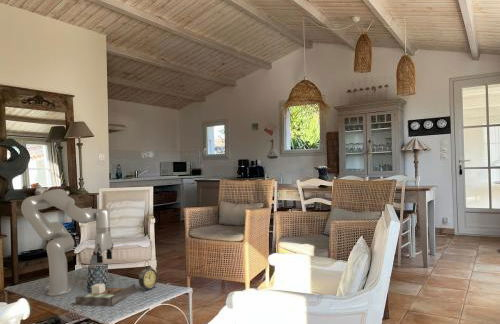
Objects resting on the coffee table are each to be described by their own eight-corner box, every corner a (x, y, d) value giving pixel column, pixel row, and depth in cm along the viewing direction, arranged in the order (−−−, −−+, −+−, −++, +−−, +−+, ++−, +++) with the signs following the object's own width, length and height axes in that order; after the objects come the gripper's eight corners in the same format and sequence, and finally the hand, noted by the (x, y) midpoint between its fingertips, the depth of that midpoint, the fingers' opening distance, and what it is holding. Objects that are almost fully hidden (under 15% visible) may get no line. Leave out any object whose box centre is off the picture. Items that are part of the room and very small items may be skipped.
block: (91, 293, 213) (91, 286, 213) (97, 290, 218) (97, 283, 218) (99, 293, 212) (99, 286, 212) (105, 290, 217) (104, 283, 217)
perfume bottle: (103, 276, 254) (102, 249, 255) (101, 279, 248) (100, 251, 248) (93, 278, 253) (91, 250, 254) (90, 280, 247) (89, 252, 247)
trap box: (75, 304, 202) (75, 295, 202) (101, 291, 223) (101, 283, 223) (112, 306, 196) (111, 297, 196) (135, 292, 218) (135, 284, 218)
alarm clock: (144, 293, 215) (142, 264, 215) (137, 291, 218) (136, 263, 218) (158, 287, 224) (157, 259, 225) (151, 286, 227) (150, 258, 227)
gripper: (106, 228, 231) (108, 257, 231) (87, 233, 214) (89, 264, 214) (117, 227, 229) (119, 257, 229) (99, 233, 212) (100, 264, 212)
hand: (104, 260), depth 222 cm, fingers open, 8 cm apart
